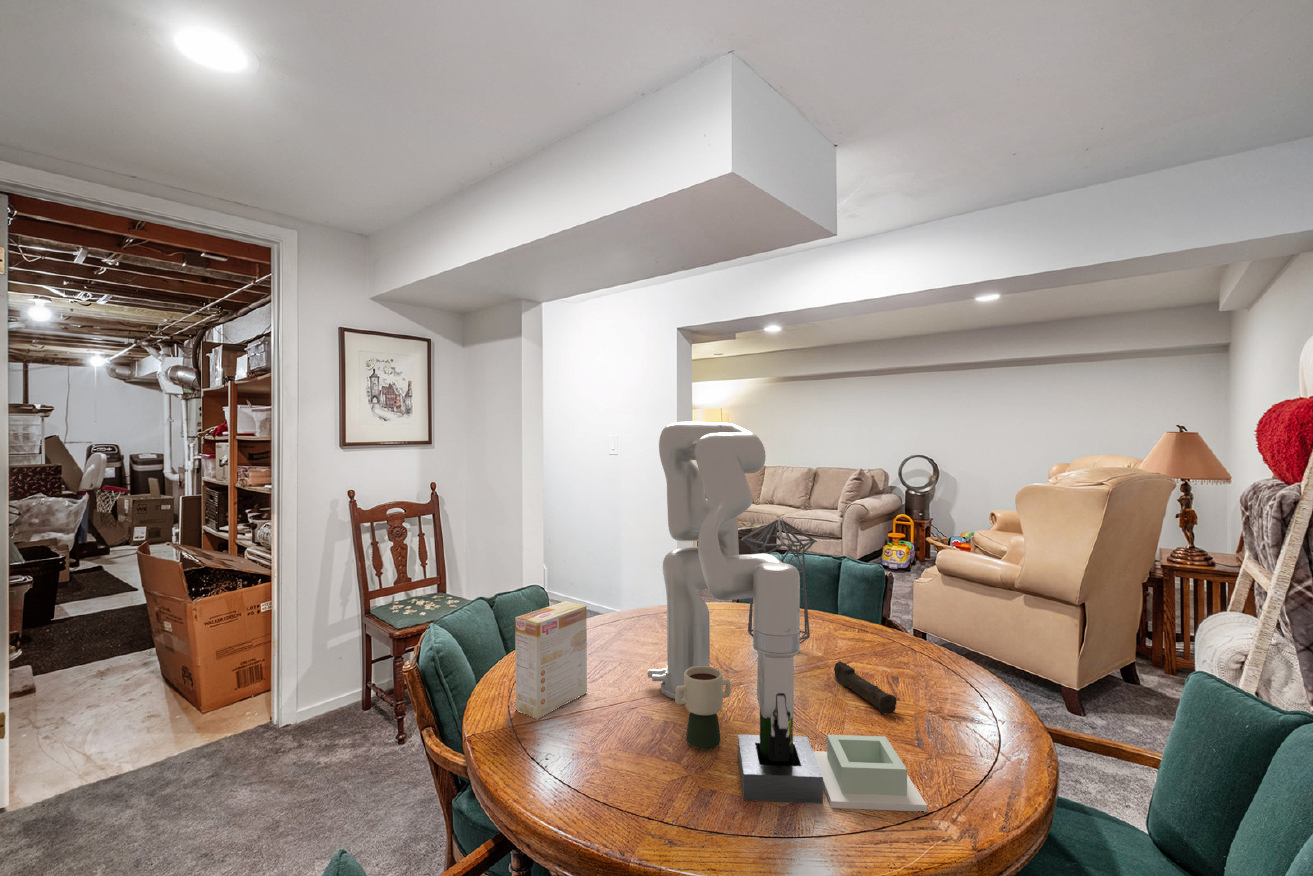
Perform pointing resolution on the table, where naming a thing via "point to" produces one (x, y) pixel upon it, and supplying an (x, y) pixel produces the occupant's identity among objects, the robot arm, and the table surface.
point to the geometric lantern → (789, 546)
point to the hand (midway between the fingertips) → (776, 748)
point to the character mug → (703, 704)
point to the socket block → (779, 773)
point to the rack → (866, 775)
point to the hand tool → (864, 688)
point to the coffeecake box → (550, 657)
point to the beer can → (765, 741)
